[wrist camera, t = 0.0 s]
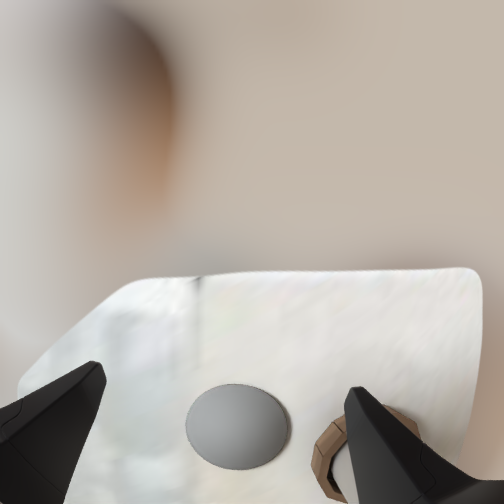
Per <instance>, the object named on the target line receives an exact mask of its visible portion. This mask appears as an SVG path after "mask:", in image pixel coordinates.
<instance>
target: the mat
mask: <svg viewBox="0 0 504 504" xmlns="http://www.w3.org/2000/svg"><path fill="white" fill-rule="evenodd" d="M186 433H187V437H188V440H189V442H190V444H191V446H192V447H193V449H194V450H195V451H196V452H197V453H198V454H199V455H200V456H201V457H202V458H203V459H205V460H206V461H208V462H209V463H211V464H213V465H216V466H218V467H221V468H225V469H231V470H246V469H252V468H255V467H258V466H261V465H263V464H265V463H267V462H268V461H270V460H271V459H272V458H274V457H275V456H276V455H277V454H278V452H279V451H280V450H281V448H282V447H283V445H284V443H285V440H286V436H287V422H286V418H285V415H284V413H283V410H282V409H281V407H280V405H279V404H278V403H277V402H276V401H275V400H274V399H273V398H272V397H271V396H270V395H268V394H267V393H265V392H264V391H262V390H260V389H257V388H255V387H252V386H248V385H242V384H227V385H222V386H218V387H215V388H212V389H210V390H208V391H206V392H205V393H203V394H202V395H201V396H200V397H198V399H197V400H196V401H195V402H194V403H193V405H192V406H191V408H190V410H189V412H188V414H187V418H186Z"/></svg>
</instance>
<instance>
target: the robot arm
mask: <svg viewBox="0 0 504 504" xmlns="http://www.w3.org/2000/svg"><path fill="white" fill-rule="evenodd" d="M106 382H107V380H106V376H105V373H104V370H103V367H102V365H101V363H99V362H95V361H89V362H87V363H85V364H84V365H82V366H80V367H78V368H76V369H75V370H73V371H71V372H69V373H67V374H66V375H64V376H62V377H60V378H58V379H56V380H55V381H53V382H51V383H49V384H47V385H45V386H44V387H42V388H40V389H38V390H36V391H34V392H32V393H31V394H29V395H27V396H25V397H24V398H21V399H19V400H17V401H16V402H13V403H11V404H10V405H7V406H5V407H3V408H0V504H63V503H64V500H65V496H66V493H67V490H68V487H69V484H70V481H71V479H72V476H73V473H74V470H75V467H76V465H77V462H78V459H79V457H80V454H81V452H82V449H83V447H84V444H85V442H86V439H87V437H88V434H89V432H90V429H91V427H92V425H93V422H94V420H95V417H96V415H97V412H98V409H99V405H100V402H101V399H102V395H103V392H104V389H105V386H106ZM344 411H345V422H346V433H347V443H348V448H349V453H350V458H351V463H352V468H353V473H354V478H355V484H356V489H357V495H358V500H359V504H504V480H478V479H475V478H473V477H471V476H469V475H467V474H466V473H464V472H462V471H461V470H459V469H458V468H456V467H455V466H454V465H452V464H451V463H449V462H448V461H446V460H445V459H443V458H442V457H441V456H439V455H438V454H437V453H436V452H434V451H433V450H432V449H431V448H430V447H429V446H427V445H426V444H425V443H423V441H422V440H421V439H419V438H418V437H417V436H416V435H415V434H414V433H413V432H412V431H411V430H409V429H408V428H407V427H406V426H405V425H404V424H403V423H402V422H401V421H399V420H398V419H397V418H396V417H395V416H394V415H393V414H392V413H391V412H390V411H388V410H387V409H386V408H385V407H384V406H383V405H382V404H381V403H380V402H379V401H378V400H377V399H375V398H374V397H373V396H372V395H371V394H370V393H369V392H368V391H367V390H366V389H365V388H363V387H361V386H359V387H352V388H351V389H350V390H349V393H348V395H347V398H346V400H345V403H344Z"/></svg>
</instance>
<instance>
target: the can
mask: <svg viewBox="0 0 504 504" xmlns="http://www.w3.org/2000/svg"><path fill="white" fill-rule="evenodd" d="M329 469H330V472H331V474H332V476H333V478H334V480H335V481H336V483H337V485H338V487H339V488H340V490H341V492H342V494H343V495H344V497H345V499H346V501H347V502H348V504H359V500H358V495H357V489H356V484H355V478H354V473H353V468H352V463H351V458H350V453H349V448H348V443H347V440H346V441H345V442H344V443H343V444H342V446H341V447H340V448H339V449H338V450H337V452H336V453H335V454H334V455H333V456H332V457H331V461H330V465H329Z"/></svg>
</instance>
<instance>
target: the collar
mask: <svg viewBox="0 0 504 504" xmlns="http://www.w3.org/2000/svg"><path fill="white" fill-rule="evenodd" d="M383 406H384V407H385V408H386V409H387V410H388V411H390V412H391V413H392V414H393V415H394V416H395V417H396V418H397V419H398V420H399V421H401V422H402V423H403V424H404V425H405V426H406V427H407V428H408V429H409V430H411V431H412V432H413V433H414V434H415V435H416V436H417V437H418V438H419V439H421V437H420V434H419V431H418V427H417V424H416V423H415V422H414V421H412V420H411V419H409V418H407V417H405V416H403V415H402V414H400V413H398V412H396V411H394V410H393V409H391V408H389V407H387V406H385V405H383ZM346 440H347V433H346V422H345V415H343V416H342V417H340V418H338V419H336V420H334V422H332V423H331V424H330V426H329V427H328V428H327V429H326V431H325V432H324V433H323V434H322V435H321V437H320V438H319V439H318V440H317V441H316V444H315V446H314V452H313V457H312V462H311V467H312V470H313V472H314V474H315V476H316V479H317V481H318V483H319V484H320V486H321V488H322V489H323V491H324V493H325V495H326V496H327V497H328V498H331V499H334V500H337V501H340V502H343V503H347V504H348V502H347V501H346V499H345V497H344V495H343V494H342V492H341V490H340V488H339V487H338V485H337V483H336V481H334V480H331V479H329V478H327V473H328V469H329V465H330V461H331V457H332V456H333V455H334V454H335V453H336V452H337V450H338V449H339V448H340V447H341V446H342V444H343V443H344V442H345V441H346Z"/></svg>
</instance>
